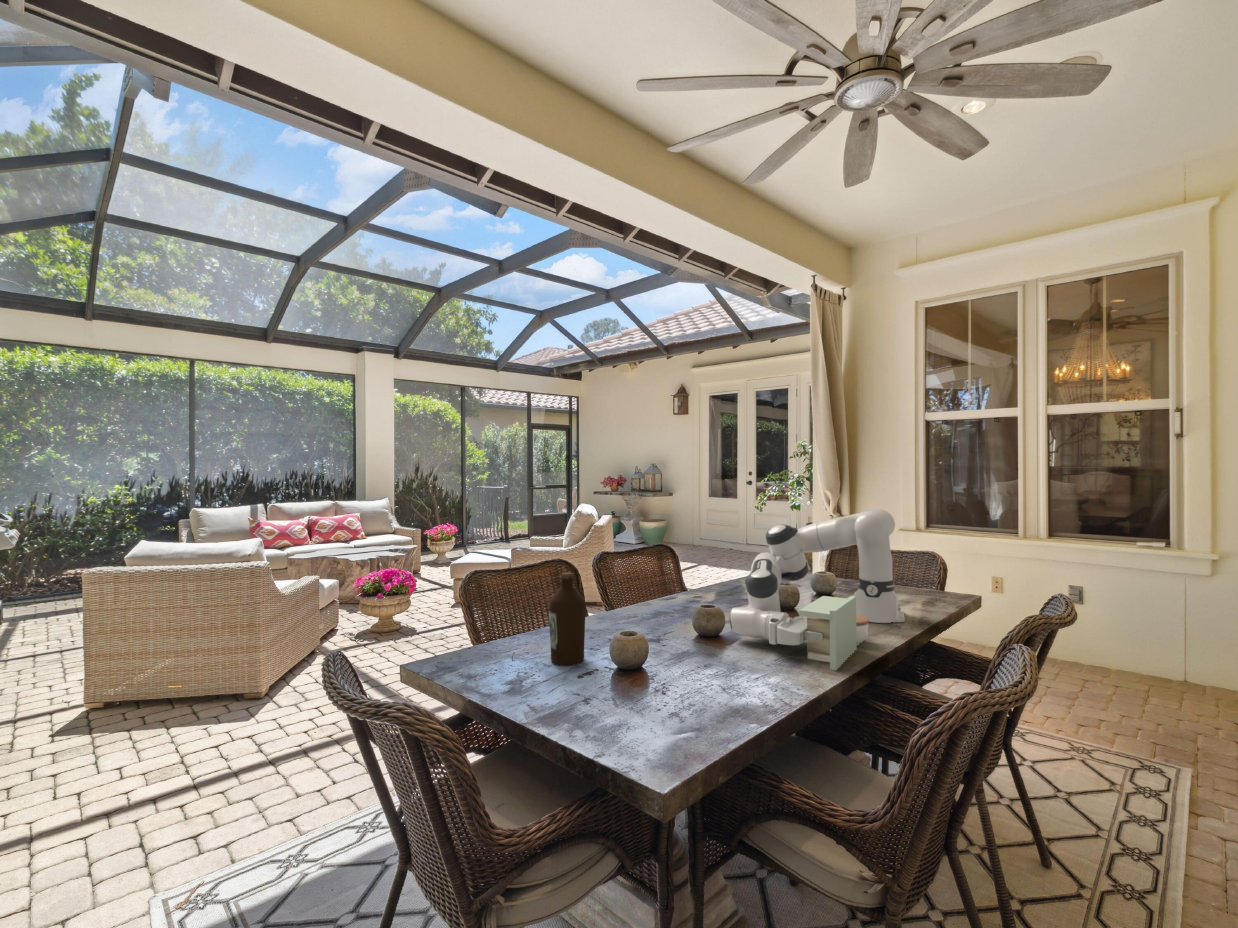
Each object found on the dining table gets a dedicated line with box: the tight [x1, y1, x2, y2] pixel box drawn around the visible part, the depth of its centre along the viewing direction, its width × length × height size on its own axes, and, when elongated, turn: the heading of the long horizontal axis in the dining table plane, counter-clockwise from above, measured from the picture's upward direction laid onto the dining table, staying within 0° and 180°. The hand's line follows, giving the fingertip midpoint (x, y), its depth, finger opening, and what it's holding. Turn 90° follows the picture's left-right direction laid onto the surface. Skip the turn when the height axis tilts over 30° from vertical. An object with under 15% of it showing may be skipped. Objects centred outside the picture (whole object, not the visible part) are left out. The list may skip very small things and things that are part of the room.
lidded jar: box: [856, 615, 870, 646], centre depth 185 cm, size 11×11×9 cm
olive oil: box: [548, 571, 587, 667], centre depth 170 cm, size 11×11×25 cm
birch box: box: [806, 617, 830, 655], centre depth 173 cm, size 4×8×10 cm, turn 55°
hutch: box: [798, 595, 858, 671], centre depth 172 cm, size 22×10×16 cm, turn 145°
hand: (826, 633), depth 172 cm, fingers closed on birch box, 4 cm apart
